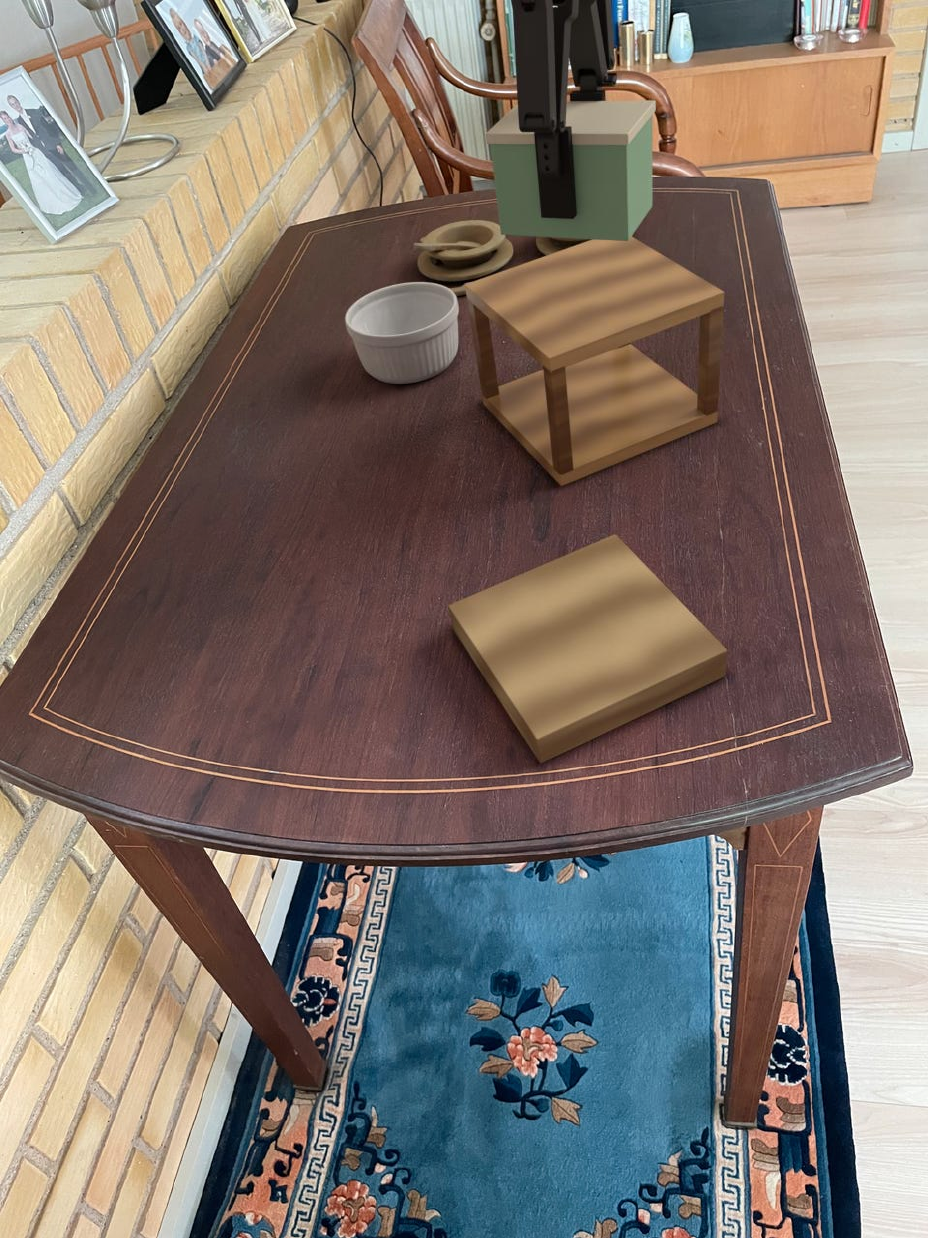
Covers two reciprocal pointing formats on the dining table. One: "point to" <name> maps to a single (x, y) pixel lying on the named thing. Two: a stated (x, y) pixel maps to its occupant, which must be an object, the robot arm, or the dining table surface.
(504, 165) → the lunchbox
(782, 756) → the dining table surface
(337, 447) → the dining table surface
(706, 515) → the dining table surface
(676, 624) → the wooden square board
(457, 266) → the tableware set
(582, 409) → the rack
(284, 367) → the dining table surface
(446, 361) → the ramekin
